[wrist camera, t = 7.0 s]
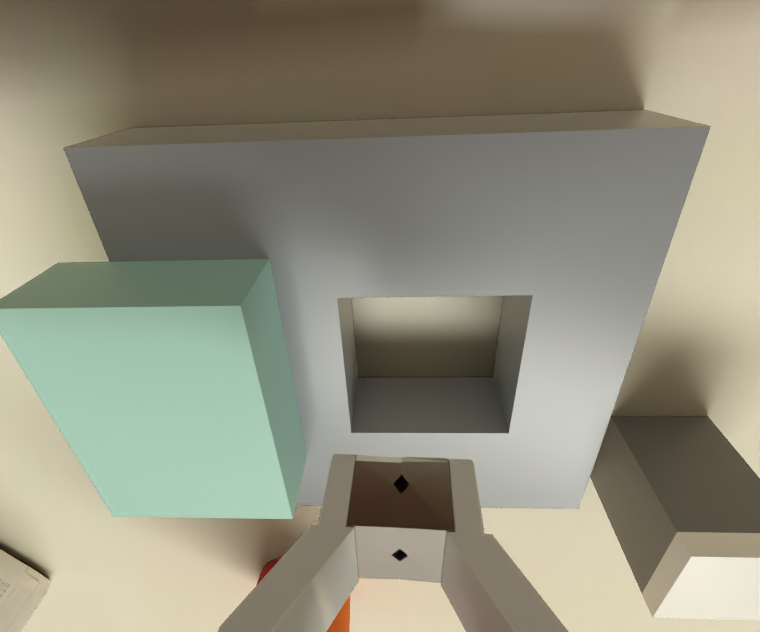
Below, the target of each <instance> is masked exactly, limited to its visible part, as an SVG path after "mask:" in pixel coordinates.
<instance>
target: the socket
mask: <svg viewBox="0 0 760 632" xmlns="http://www.w3.org/2000/svg"><path fill="white" fill-rule="evenodd" d="M710 127H711V126H707V125H703V124H699V123H695V122H691V121H687V120H684V119H680V118H676V117H672V116H668V115H664V114H660V113H656V112H652V111H648V110H625V111H596V112H568V113H540V114H512V115H484V116H456V117H427V118H399V119H371V120H343V121H315V122H286V123H258V124H230V125H202V126H174V127H145V128H128V129H125V130H122V131H118V132H115V133H112V134H108V135H105V136H102V137H98V138H95V139H91V140H88V141H85V142H81V143H78V144H75V145H71V146H68V147H65V148H64V151H65V153H66V156H67V158H68V161H69V163H70V165H71V168H72V170H73V173H74V175H75V178H76V180H77V183H78V185H79V188H80V190H81V192H82V195H83V197H84V200H85V202H86V205H87V207H88V210H89V212H90V215H91V217H92V219H93V222H94V224H95V227H96V229H97V232H98V234H99V237H100V239H101V241H102V244H103V246H104V249H105V251H106V254H107V256H108V259H109V261H110V262H125V261H179V260H233V259H270V264H271V270H272V275H273V280H274V285H275V291H276V296H277V301H278V306H279V312H280V317H281V322H282V327H283V333H284V338H285V343H286V348H287V354H288V359H289V364H290V370H291V375H292V380H293V385H294V391H295V396H296V401H297V406H298V412H299V417H300V422H301V427H302V433H303V438H304V443H305V448H306V454H307V459H306V463H305V467H304V472H303V476H302V481H301V485H300V490H299V494H298V498H297V503H296V505H303V506H322V503H323V498H324V493H325V488H326V482H327V477H328V472H329V467H330V462H331V459H332V457H333V455H334V454H351V455H368V456H382V457H397V458H402V457H425V458H447V459H470V460H472V461H473V463H474V467H475V473H476V480H477V487H478V494H479V500H480V507H481V508H551V509H579V507H580V504H581V501H582V498H583V495H584V492H585V489H586V487H587V484H588V481H589V478H590V475H591V472H592V469H593V466H594V463H595V460H596V457H597V455H598V452H599V449H600V446H601V443H602V440H603V437H604V434H605V431H606V428H607V426H608V423H609V420H610V417H611V414H612V411H613V408H614V405H615V402H616V399H617V397H618V394H619V391H620V388H621V385H622V382H623V379H624V376H625V373H626V370H627V368H628V365H629V362H630V359H631V356H632V353H633V350H634V347H635V344H636V341H637V339H638V336H639V333H640V330H641V327H642V324H643V321H644V318H645V315H646V312H647V310H648V307H649V304H650V301H651V298H652V295H653V292H654V289H655V286H656V283H657V281H658V278H659V275H660V272H661V269H662V266H663V263H664V260H665V257H666V254H667V252H668V249H669V246H670V243H671V240H672V237H673V234H674V231H675V228H676V225H677V223H678V220H679V217H680V214H681V211H682V208H683V205H684V202H685V199H686V196H687V194H688V191H689V188H690V185H691V182H692V179H693V176H694V173H695V170H696V167H697V165H698V162H699V159H700V156H701V153H702V150H703V147H704V144H705V141H706V138H707V136H708V133H709V130H710ZM436 296H503V304H502V311H501V319H500V326H499V334H498V341H497V349H496V356H495V364H494V371H493V377H366V378H358V370H357V358H356V346H355V334H354V322H353V310H352V298H363V297H436Z"/></svg>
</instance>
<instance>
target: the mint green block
mask: <svg viewBox="0 0 760 632" xmlns="http://www.w3.org/2000/svg"><path fill="white" fill-rule="evenodd" d="M0 334H1V336H2V337H3V339H4V341H5V342H6V344H7V346H8V347H9V349H10V350H11V352H12V354H13V355H14V357H15V359H16V360H17V362H18V363H19V365H20V367H21V368H22V370H23V372H24V373H25V375H26V376H27V378H28V380H29V381H30V383H31V384H32V386H33V388H34V389H35V391H36V393H37V394H38V396H39V397H40V399H41V401H42V402H43V404H44V406H45V407H46V409H47V410H48V412H49V414H50V415H51V417H52V419H53V420H54V422H55V423H56V425H57V427H58V428H59V430H60V432H61V433H62V435H63V436H64V438H65V440H66V441H67V443H68V444H69V446H70V448H71V449H72V451H73V453H74V454H75V456H76V457H77V459H78V461H79V462H80V464H81V466H82V467H83V469H84V470H85V472H86V474H87V475H88V477H89V479H90V480H91V482H92V483H93V485H94V487H95V488H96V490H97V491H98V493H99V495H100V496H101V498H102V500H103V501H104V503H105V504H106V506H107V508H108V509H109V511H110V513H111V514H112V516H113V517H175V518H248V519H293V516H294V512H295V507H296V503H297V498H298V494H299V490H300V485H301V481H302V476H303V472H304V467H305V463H306V459H307V454H306V448H305V443H304V438H303V433H302V427H301V422H300V417H299V412H298V406H297V401H296V396H295V391H294V385H293V380H292V375H291V370H290V364H289V359H288V354H287V348H286V343H285V338H284V333H283V327H282V322H281V317H280V312H279V306H278V301H277V296H276V291H275V285H274V280H273V275H272V270H271V264H270V259H233V260H179V261H125V262H72V263H57V264H55V265H54V266H52V267H51V268H49V269H48V270H46V271H44V272H43V273H41V274H40V275H38V276H36V277H35V278H33V279H32V280H30V281H29V282H27V283H25V284H24V285H22V286H21V287H19V288H17V289H16V290H14V291H13V292H11V293H9V294H8V295H6V296H5V297H3V298H2V299H0Z"/></svg>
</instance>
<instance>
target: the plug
mask: <svg viewBox="0 0 760 632" xmlns="http://www.w3.org/2000/svg"><path fill="white" fill-rule="evenodd" d="M590 477H591V480H592V482H593V484H594V486H595V489H596V491H597V493H598V495H599V498H600V500H601V502H602V504H603V507H604V509H605V511H606V513H607V516H608V518H609V520H610V522H611V525H612V527H613V529H614V531H615V534H616V536H617V538H618V541H619V543H620V545H621V547H622V550H623V552H624V554H625V556H626V559H627V561H628V563H629V565H630V568H631V570H632V572H633V574H634V577H635V579H636V581H637V583H638V586H639V588H640V590H641V592H642V595H643V597H644V599H645V601H646V604H647V606H648V608H649V610H650V613H651V615H652V617H654V618H693V619H731V620H760V478H759V477H758V476H757V475H756V474H755V472H754V471H753V470H752V469H751V468H750V466H749V465H748V464H747V463H746V462H745V460H744V459H743V458H742V457H741V456H740V454H739V453H738V452H737V451H736V450H735V448H734V447H733V446H732V445H731V444H730V442H729V441H728V440H727V439H726V438H725V436H724V435H723V434H722V433H721V432H720V430H719V429H718V428H717V427H716V426H715V424H714V423H713V422H712V421H711V420H710V418H709V417H708V416H611V418H610V420H609V423H608V426H607V429H606V432H605V435H604V438H603V441H602V444H601V447H600V449H599V452H598V455H597V458H596V461H595V464H594V467H593V470H592V473H591V475H590Z"/></svg>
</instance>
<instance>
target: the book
mask: <svg viewBox="0 0 760 632" xmlns="http://www.w3.org/2000/svg"><path fill="white" fill-rule="evenodd" d="M49 587H50V581H49V580H48V579H47V578H45V577H44V576H43V575H41V574H40V573H38V572H37V571H35V570H34V569H32V568H31V567H29V566H27V565H25V564H24V563H22V562H21V561H19V560H17V559H16V558H14V557H12V556H11V555H9V554H7V553H6V552H4V551H2V550H1V549H0V632H21V630H22V629H23V627H24V626H25V625H26V623H27V622H28V620H29V619H30V617H31V615H32V614H33V612H34V611H35V609H36V608H37V607H38V605H39V603H40V602H41V600H42V599H43V597H44V596H45V594H46V592H47V591H48V589H49Z"/></svg>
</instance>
